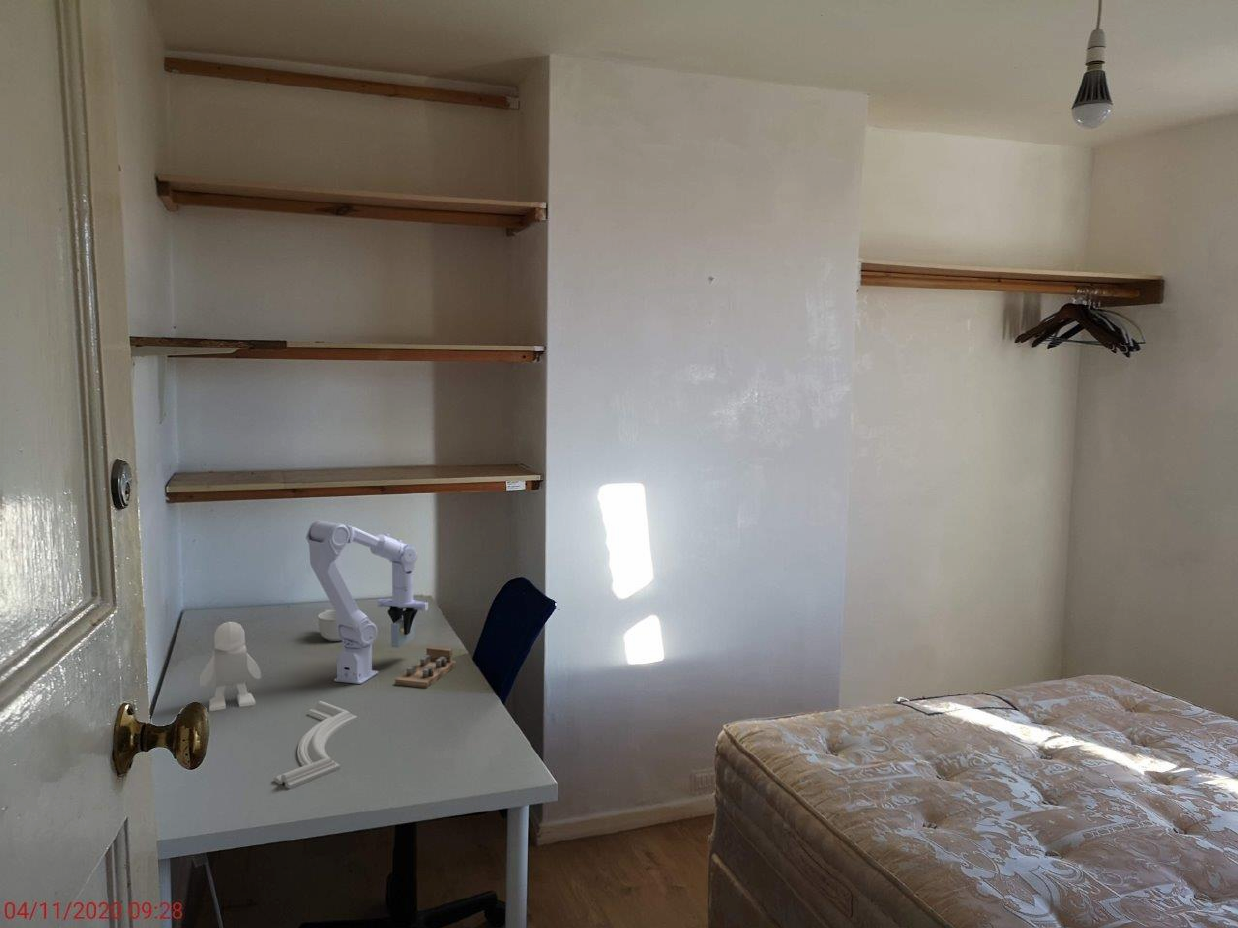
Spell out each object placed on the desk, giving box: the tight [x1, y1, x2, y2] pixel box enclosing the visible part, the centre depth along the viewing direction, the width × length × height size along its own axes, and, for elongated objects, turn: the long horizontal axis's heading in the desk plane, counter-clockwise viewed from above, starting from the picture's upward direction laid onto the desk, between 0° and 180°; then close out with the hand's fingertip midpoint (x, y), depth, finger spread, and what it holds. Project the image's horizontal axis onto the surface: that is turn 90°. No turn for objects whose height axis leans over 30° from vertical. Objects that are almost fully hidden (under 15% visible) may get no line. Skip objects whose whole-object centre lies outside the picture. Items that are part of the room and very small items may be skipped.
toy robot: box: [198, 621, 262, 712], centre depth 215 cm, size 14×9×20 cm, turn 117°
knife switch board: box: [394, 646, 457, 689], centre depth 237 cm, size 18×9×5 cm, turn 166°
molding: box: [273, 700, 358, 790], centre depth 192 cm, size 42×12×3 cm, turn 9°
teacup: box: [317, 608, 342, 642], centre depth 270 cm, size 14×11×8 cm
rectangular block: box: [390, 617, 416, 649], centre depth 246 cm, size 10×3×6 cm, turn 166°
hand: (403, 633), depth 246 cm, fingers closed on rectangular block, 2 cm apart
